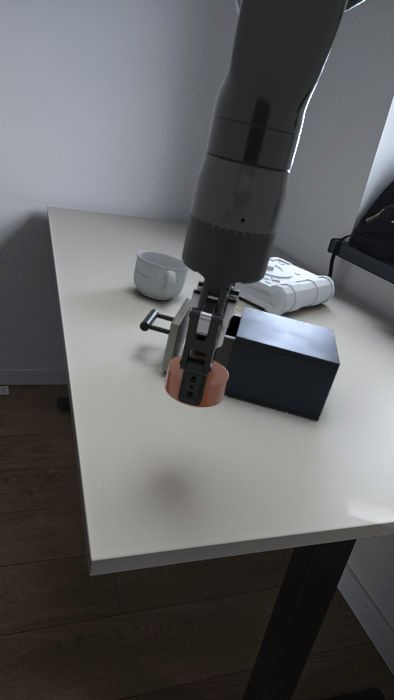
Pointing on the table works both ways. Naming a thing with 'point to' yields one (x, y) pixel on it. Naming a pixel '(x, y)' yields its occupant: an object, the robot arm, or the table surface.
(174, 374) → the cylinder
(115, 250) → the table surface
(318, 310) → the table surface
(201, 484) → the table surface
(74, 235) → the table surface
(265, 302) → the book
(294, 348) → the cabinet
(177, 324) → the drawer
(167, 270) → the teacup
